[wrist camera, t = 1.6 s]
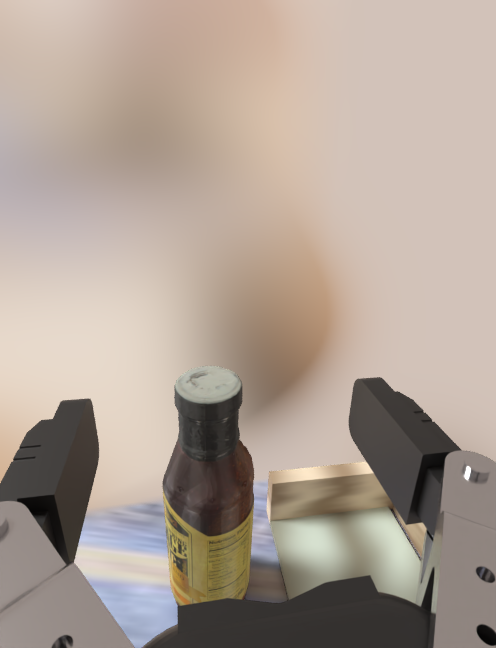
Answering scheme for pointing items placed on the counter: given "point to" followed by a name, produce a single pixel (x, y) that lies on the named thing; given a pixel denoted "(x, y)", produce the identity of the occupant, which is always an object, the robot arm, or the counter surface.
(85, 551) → the counter surface
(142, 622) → the counter surface
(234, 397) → the sauce bottle
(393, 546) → the beige l-shaped piece
